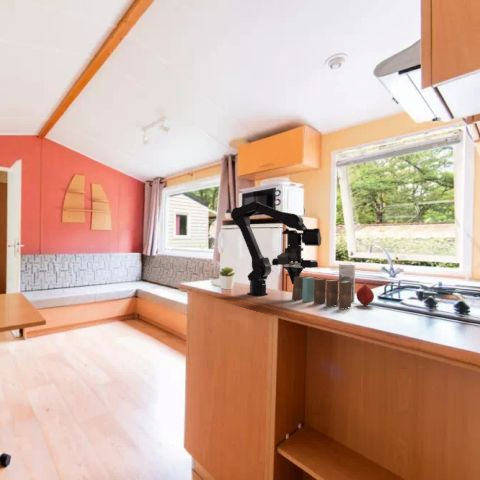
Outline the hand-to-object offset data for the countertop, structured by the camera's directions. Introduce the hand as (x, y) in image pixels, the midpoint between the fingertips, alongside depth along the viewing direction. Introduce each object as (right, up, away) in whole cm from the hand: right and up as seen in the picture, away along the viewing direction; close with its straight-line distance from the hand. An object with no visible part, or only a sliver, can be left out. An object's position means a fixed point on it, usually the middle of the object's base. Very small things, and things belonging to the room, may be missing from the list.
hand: (293, 284), depth 120 cm
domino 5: (+15, -6, -16) cm, 23 cm away
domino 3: (+8, -6, -9) cm, 13 cm away
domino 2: (+5, -6, -5) cm, 9 cm away
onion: (+24, -6, -12) cm, 27 cm away
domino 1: (+1, -6, -2) cm, 6 cm away
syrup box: (+21, -6, -1) cm, 22 cm away
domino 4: (+12, -6, -12) cm, 18 cm away
